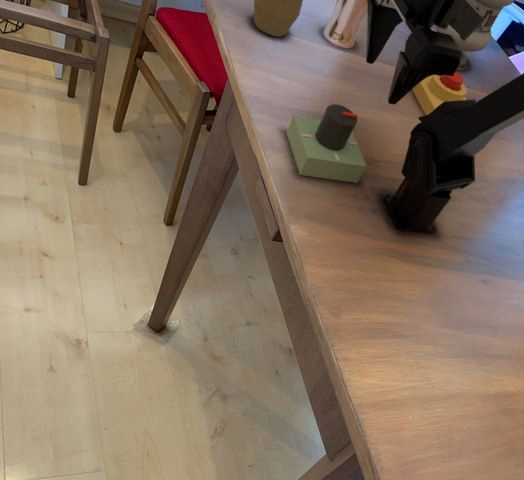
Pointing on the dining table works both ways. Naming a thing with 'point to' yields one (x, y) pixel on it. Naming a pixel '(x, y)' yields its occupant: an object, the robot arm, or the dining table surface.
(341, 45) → the beer glass
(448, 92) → the button block
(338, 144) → the knob
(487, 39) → the apothecary jar
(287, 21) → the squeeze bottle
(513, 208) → the dining table surface
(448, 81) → the button
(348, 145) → the panel
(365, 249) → the dining table surface
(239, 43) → the dining table surface
